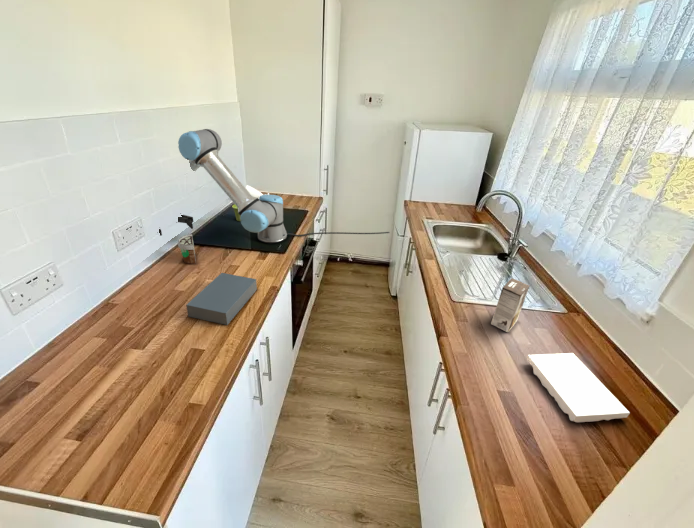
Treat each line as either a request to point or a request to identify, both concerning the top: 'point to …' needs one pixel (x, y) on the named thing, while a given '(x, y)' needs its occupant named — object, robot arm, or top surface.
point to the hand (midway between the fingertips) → (176, 229)
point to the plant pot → (236, 212)
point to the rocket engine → (254, 191)
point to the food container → (187, 249)
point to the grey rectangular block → (222, 298)
